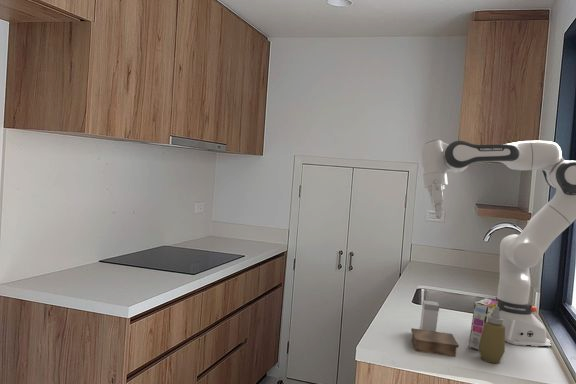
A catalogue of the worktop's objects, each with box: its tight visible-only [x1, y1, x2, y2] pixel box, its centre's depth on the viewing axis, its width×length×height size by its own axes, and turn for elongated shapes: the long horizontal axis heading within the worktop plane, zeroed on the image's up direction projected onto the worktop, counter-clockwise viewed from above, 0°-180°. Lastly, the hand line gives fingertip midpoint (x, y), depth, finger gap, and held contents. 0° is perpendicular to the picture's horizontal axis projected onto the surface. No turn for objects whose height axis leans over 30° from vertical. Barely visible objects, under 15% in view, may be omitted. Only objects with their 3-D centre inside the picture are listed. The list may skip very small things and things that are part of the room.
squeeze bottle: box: [479, 306, 506, 364], centre depth 173 cm, size 8×8×18 cm
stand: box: [411, 327, 459, 357], centre depth 180 cm, size 14×12×4 cm
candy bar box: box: [468, 298, 498, 352], centre depth 186 cm, size 11×5×16 cm, turn 141°
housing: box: [419, 299, 440, 332], centre depth 193 cm, size 5×5×12 cm
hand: (439, 217), depth 202 cm, fingers open, 8 cm apart
